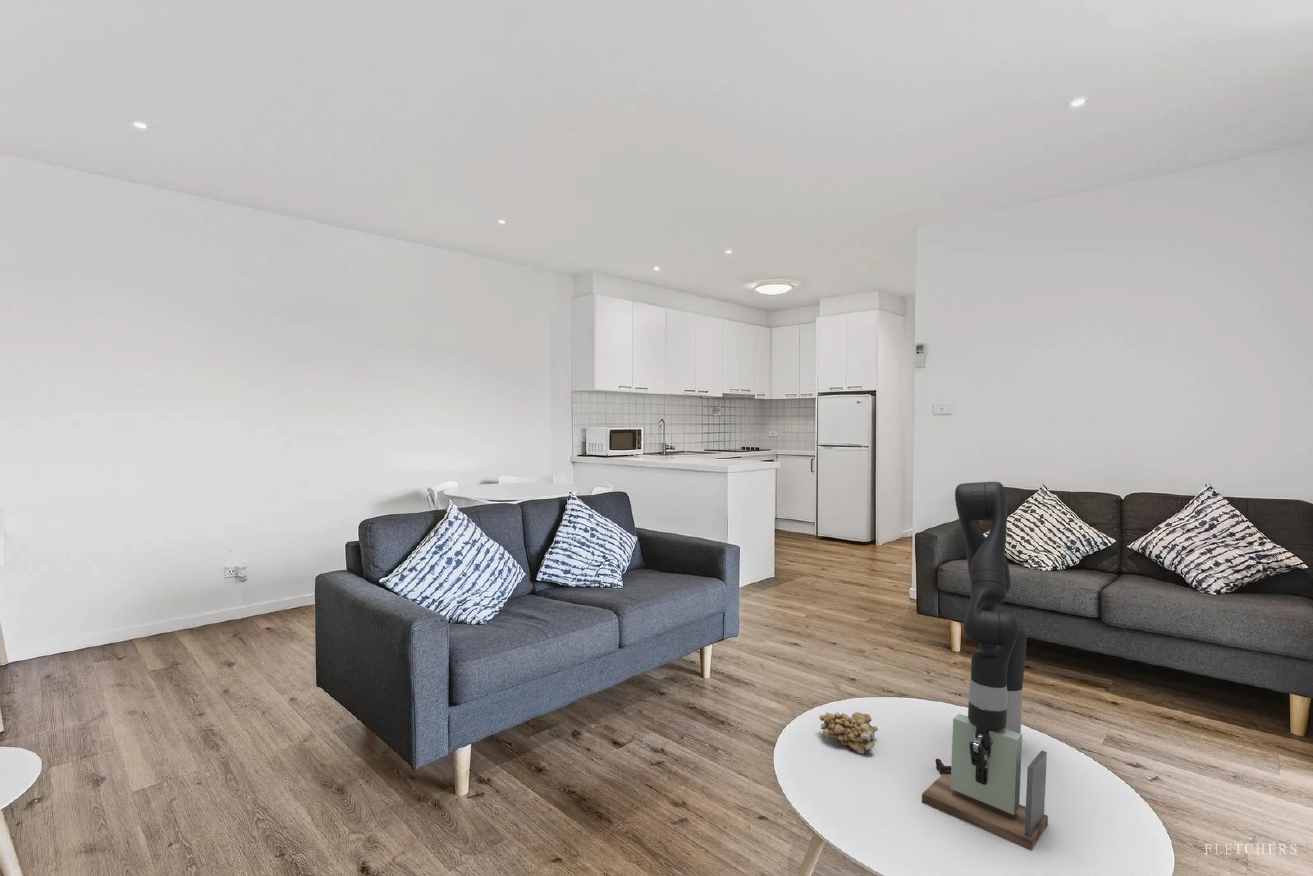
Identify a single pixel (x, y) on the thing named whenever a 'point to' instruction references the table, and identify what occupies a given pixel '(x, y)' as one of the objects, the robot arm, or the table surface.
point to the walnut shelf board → (982, 813)
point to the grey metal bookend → (1035, 793)
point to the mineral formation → (850, 730)
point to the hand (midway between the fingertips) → (984, 779)
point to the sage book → (1001, 766)
